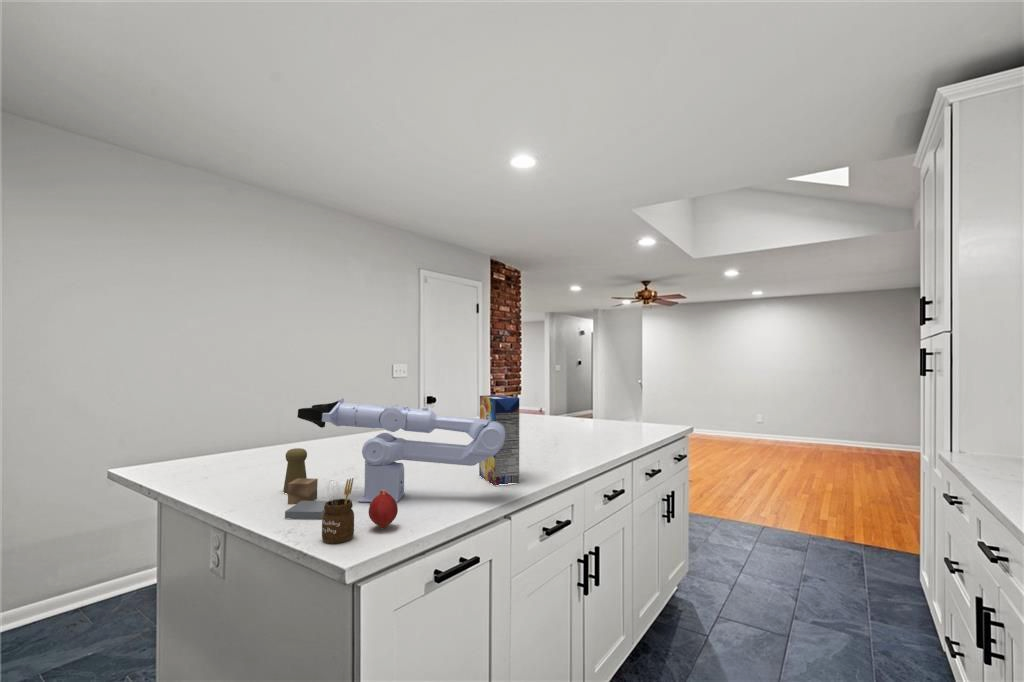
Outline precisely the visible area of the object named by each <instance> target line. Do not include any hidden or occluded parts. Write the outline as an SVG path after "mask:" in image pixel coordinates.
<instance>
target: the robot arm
mask: <svg viewBox="0 0 1024 682" xmlns="http://www.w3.org/2000/svg"><path fill="white" fill-rule="evenodd" d="M298 418H299V419H300V420H303V421H304V420H305V421H307V422H311V423H312V424H314V425H316V426H318V428H321V429H323V428H325V427H326V423H331V424H332V425H334V426H336V427H342V426H343V427H354V428H367V429H383V430H386V431H388V432H381V433H379V434H377V435H376V436H374V437H373V438H369V439H368V440H366V441H365V442H364V444H363V445H362V449H361V453H362V457H363V459H364V460H365V461H364V492H363V493H364V495H362V497H360V498H359V499H358V503H371V502H372V500H373V499H374V498H375V497H376V496H377V495H379V494H380V491H381V490H386V492H387V493H388V494H390V495H391V496H392V497H393V498H394V499H395V501H396V503H398V502H399V501H400V500H401V498H403V496H404V495H405V466H404V463H403V462H398V461H412V462H422V463H423V462H424V463H433V464H434V463H435V464H446V465H457V466H468V467H469V466H470V467H471V466H475V465H476V466H477V465H478V464H479V462H481V461H483V460H485V459H487V458H489V457H491V456H494V455H495V454H496V453H497V452H498V451H499V450H500V449H501V447H502V446H503V444H504V441H505V436H506V431H505V428H504V426H503V425H502V424H501V423H499V422H496V421H491V422H488V421H489V420H485V419H480V418H477V417H463V416H447V415H446V416H445V415H438V414H436V413H435V411H433V410H432V409H429V407H427V406H423V407H422V408H412V407H409V406H408V405H403V407H402V406H400V405H398V404H396V405H393V406H391V407H388V406H383V405H382V406H380V405H377V404H375V405H374V404H363V403H362V404H361V403H353V402H351V403H350V402H345V398H344V397H340V398H338V400H337V401H334V402H329V403H323V404H313V405H311V407H303V408H298V409H297V419H298ZM400 429H401V430H403V432H414V433H423V434H424V433H425V434H431V433H432V432H433V431H434V430H443V431H444V430H445V431H451V432H457V433H458V432H459V433H466V434H467V435H468V436H469V437H470V438H471V439H472V441H470V442H469V443H468V444H457V443H447V442H446V443H444V442H432V441H421V440H412V439H411V440H409V439H405V438H402V437H396V436H394V435H393V434H391V433H395V432H398V431H399V430H400ZM389 432H391V433H389Z"/></svg>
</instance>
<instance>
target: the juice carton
mask: <svg viewBox="0 0 1024 682" xmlns="http://www.w3.org/2000/svg"><path fill="white" fill-rule="evenodd" d="M479 419H485V420H489V421H488V422H491V421H496V422H499V423H501V424H502V425H503V426H504V428H505V431H506V436H505V441H504V444H503V446H502V447H501V449H500V450H499V451H498V452H497V453H496V454H495V455H494V456H491V457H489V458H487V459H485V460H483V461H481V462H479V463H478V464H479V465H478V466H479V467H478V469H479V470H478V471H479V473H478V474H479V475H478V476H481V477H482V478H484V479H485V480H487V481H489V482H490V483H492V484H493V485H499V484H508V483H519V484H520V397H516V396H511V395H503V394H493V395H491V394H490V395H479ZM482 478H481V479H482ZM485 480H484V481H485ZM487 481H486V482H487ZM490 483H489V484H490ZM493 485H492V486H493Z"/></svg>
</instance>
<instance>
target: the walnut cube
mask: <svg viewBox="0 0 1024 682" xmlns="http://www.w3.org/2000/svg"><path fill="white" fill-rule="evenodd" d="M318 481H319V478H298V479H296V480H294V481H292V482H290V483H288V494H287V505H296V504H297V503H299V502H300V501H317V499H318V483H319V482H318Z"/></svg>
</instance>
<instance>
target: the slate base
mask: <svg viewBox="0 0 1024 682" xmlns="http://www.w3.org/2000/svg"><path fill="white" fill-rule="evenodd" d="M328 501H329V500H314V501H300V502H299V503H297V504H293V506H290V507H289V508H288V509H286V510H285V511H284V519H285V518H294V519H293V520H322V517H323V514H324V512H325V510H324V506H325V503H326V502H328Z"/></svg>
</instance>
